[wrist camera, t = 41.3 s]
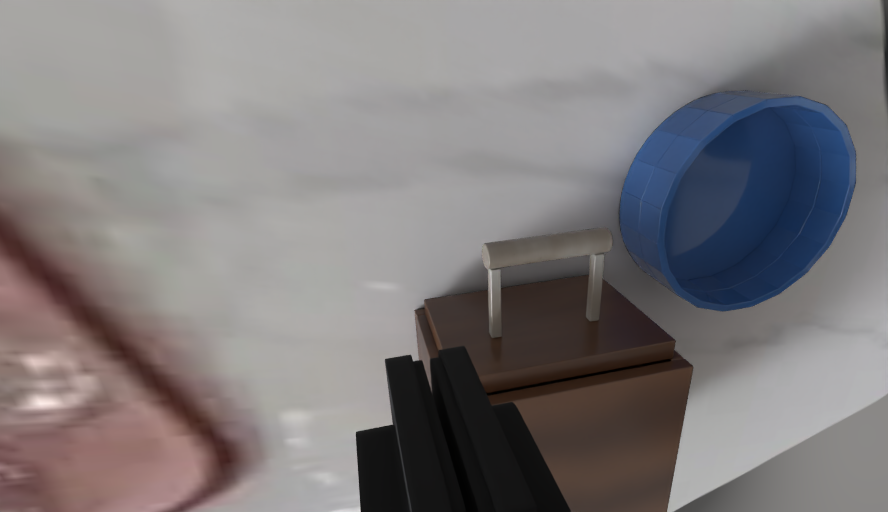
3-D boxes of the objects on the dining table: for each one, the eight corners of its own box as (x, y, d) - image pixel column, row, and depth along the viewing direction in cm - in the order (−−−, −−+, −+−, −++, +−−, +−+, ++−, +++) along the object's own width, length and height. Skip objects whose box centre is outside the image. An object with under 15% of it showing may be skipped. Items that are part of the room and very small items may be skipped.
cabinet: (414, 309, 34) (447, 414, 24) (597, 281, 36) (694, 366, 26) (430, 484, 40) (461, 621, 31) (583, 451, 43) (656, 568, 33)
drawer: (417, 217, 30) (448, 278, 22) (603, 195, 32) (692, 243, 24) (438, 471, 39) (465, 581, 31) (583, 440, 41) (644, 535, 33)
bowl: (629, 99, 31) (674, 107, 27) (817, 83, 33) (884, 88, 29) (611, 294, 37) (645, 325, 33) (772, 268, 39) (823, 294, 35)
